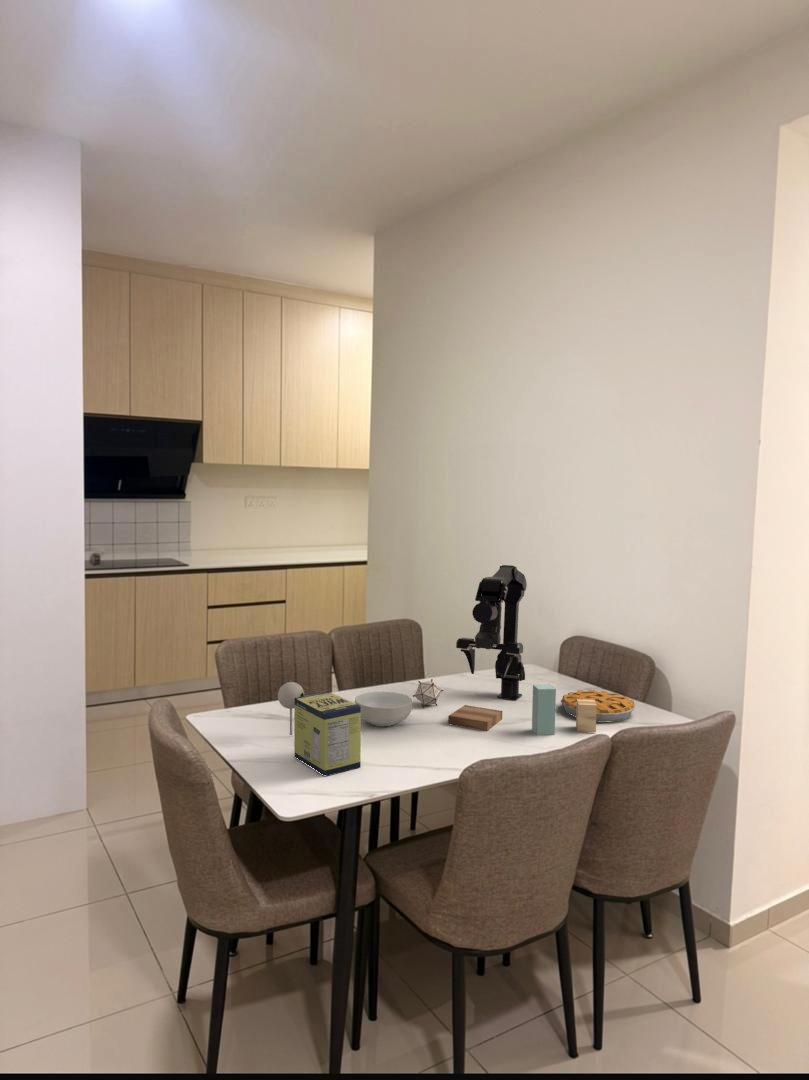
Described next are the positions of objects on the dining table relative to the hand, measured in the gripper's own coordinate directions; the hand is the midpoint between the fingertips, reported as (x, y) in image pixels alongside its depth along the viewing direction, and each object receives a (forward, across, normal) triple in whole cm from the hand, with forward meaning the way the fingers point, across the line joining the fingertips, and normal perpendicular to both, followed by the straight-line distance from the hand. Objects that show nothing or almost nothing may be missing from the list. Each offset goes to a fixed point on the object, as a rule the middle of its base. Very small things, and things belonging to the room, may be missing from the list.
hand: (487, 675), depth 219 cm
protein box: (+20, -28, -44) cm, 56 cm away
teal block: (+14, +17, 0) cm, 22 cm away
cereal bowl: (+16, -28, -10) cm, 33 cm away
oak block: (+13, +28, +6) cm, 31 cm away
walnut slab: (+14, -3, +1) cm, 15 cm away
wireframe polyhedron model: (+13, -21, +10) cm, 27 cm away
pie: (+11, +29, +24) cm, 39 cm away
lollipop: (+18, -46, -31) cm, 59 cm away
